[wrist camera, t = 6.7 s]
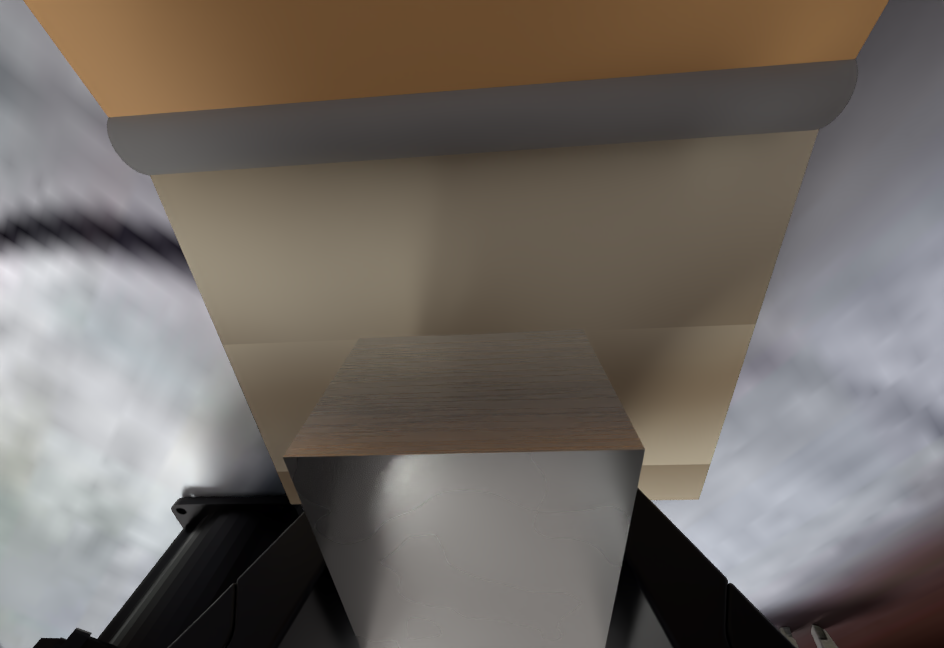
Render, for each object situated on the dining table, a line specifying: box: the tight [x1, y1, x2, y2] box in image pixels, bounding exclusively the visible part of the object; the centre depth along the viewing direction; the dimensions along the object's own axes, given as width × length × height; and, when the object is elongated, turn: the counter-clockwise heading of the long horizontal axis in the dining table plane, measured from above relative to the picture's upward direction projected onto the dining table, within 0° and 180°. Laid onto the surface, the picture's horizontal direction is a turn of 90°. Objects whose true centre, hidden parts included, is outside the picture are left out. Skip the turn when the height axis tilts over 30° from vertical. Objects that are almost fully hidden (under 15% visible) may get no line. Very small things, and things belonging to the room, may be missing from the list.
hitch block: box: [150, 129, 819, 504], centre depth 9 cm, size 16×12×5 cm
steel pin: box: [283, 329, 645, 648], centre depth 8 cm, size 4×6×7 cm, turn 4°
